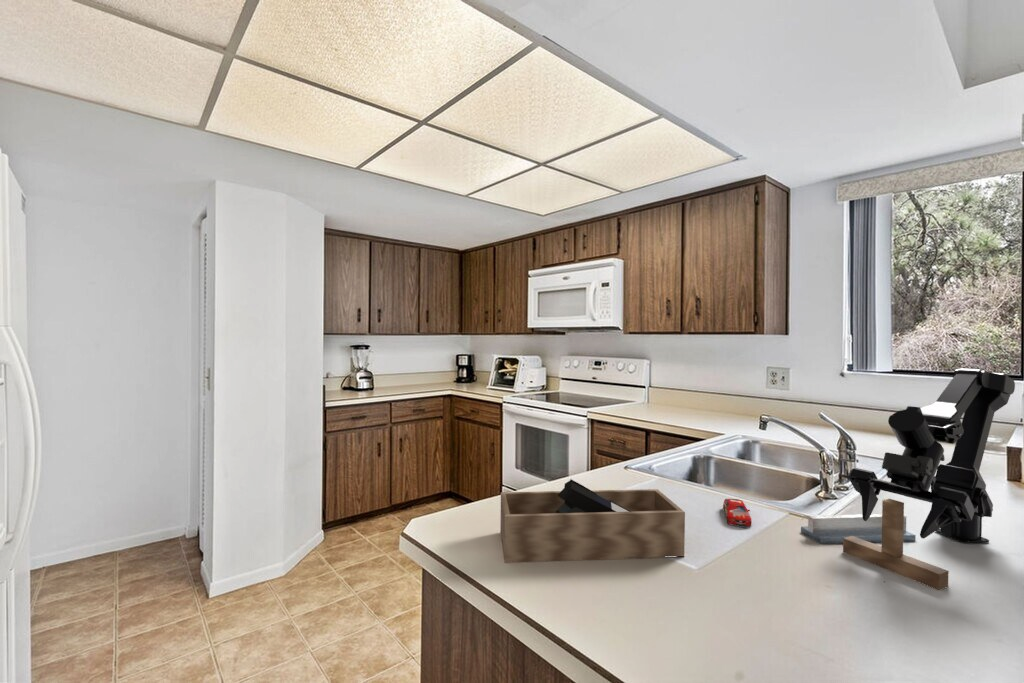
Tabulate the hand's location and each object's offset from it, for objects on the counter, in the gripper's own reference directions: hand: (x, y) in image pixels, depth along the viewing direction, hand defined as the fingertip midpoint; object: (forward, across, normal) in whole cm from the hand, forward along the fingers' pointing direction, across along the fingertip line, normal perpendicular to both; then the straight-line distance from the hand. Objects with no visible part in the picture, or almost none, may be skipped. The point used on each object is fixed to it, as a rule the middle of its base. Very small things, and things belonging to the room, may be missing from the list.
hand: (891, 528), depth 91 cm
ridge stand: (-2, -11, +13) cm, 17 cm away
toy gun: (+36, -36, -24) cm, 56 cm away
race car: (+8, -30, +4) cm, 32 cm away
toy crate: (+37, -36, -26) cm, 58 cm away
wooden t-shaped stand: (+5, 0, +6) cm, 8 cm away
